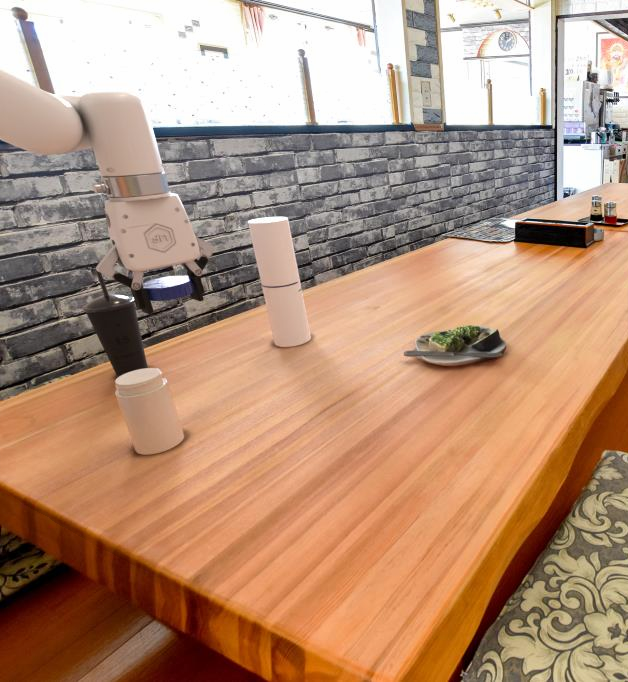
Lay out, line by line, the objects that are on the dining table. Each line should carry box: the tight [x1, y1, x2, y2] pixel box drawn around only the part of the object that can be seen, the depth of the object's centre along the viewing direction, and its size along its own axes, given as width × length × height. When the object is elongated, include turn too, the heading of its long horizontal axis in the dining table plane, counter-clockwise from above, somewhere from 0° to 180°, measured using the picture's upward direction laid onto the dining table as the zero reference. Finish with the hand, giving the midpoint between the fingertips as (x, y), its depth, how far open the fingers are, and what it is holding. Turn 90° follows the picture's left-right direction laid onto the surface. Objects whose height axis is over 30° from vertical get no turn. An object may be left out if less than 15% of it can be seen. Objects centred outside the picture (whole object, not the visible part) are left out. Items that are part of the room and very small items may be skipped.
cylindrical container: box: [247, 216, 312, 348], centre depth 106 cm, size 7×7×25 cm
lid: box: [142, 275, 194, 302], centre depth 82 cm, size 7×7×2 cm
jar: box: [114, 367, 185, 456], centre depth 74 cm, size 6×6×11 cm
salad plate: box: [403, 324, 507, 367], centre depth 101 cm, size 19×18×5 cm
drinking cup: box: [81, 267, 149, 378], centre depth 94 cm, size 8×8×20 cm
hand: (173, 305), depth 83 cm, fingers closed on lid, 6 cm apart
